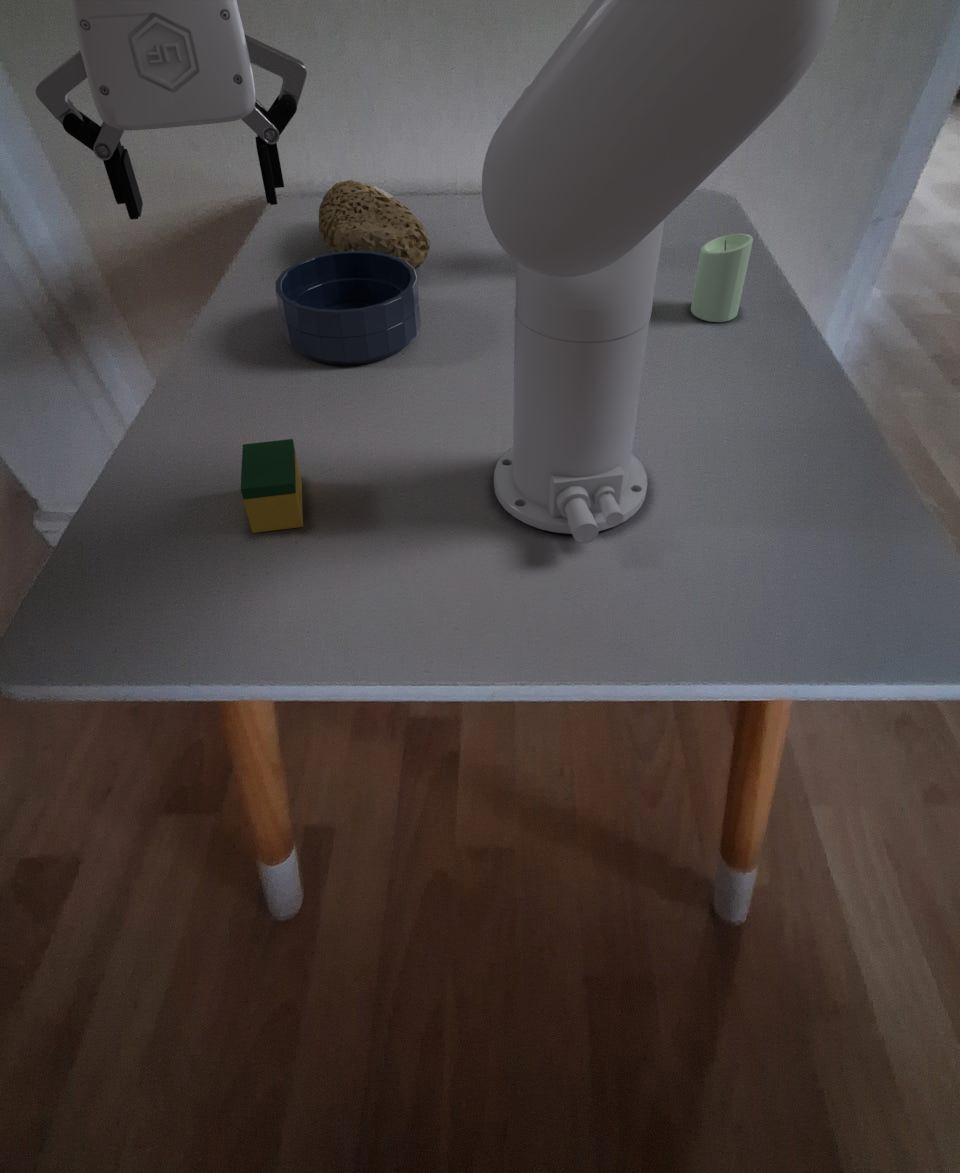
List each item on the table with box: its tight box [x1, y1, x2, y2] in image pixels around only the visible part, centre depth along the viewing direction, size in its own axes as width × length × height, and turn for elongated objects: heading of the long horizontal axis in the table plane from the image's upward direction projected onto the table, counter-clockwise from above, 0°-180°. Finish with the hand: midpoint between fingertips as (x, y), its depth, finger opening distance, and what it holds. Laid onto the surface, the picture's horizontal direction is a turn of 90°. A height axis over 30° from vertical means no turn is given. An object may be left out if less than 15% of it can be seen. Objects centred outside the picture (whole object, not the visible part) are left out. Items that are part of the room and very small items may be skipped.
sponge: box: [318, 179, 431, 270], centre depth 102 cm, size 13×8×20 cm
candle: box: [690, 233, 754, 323], centre depth 89 cm, size 5×5×8 cm
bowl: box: [275, 250, 421, 366], centre depth 87 cm, size 14×14×6 cm
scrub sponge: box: [240, 438, 304, 534], centre depth 67 cm, size 6×4×4 cm, turn 10°
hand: (205, 205), depth 61 cm, fingers open, 9 cm apart
